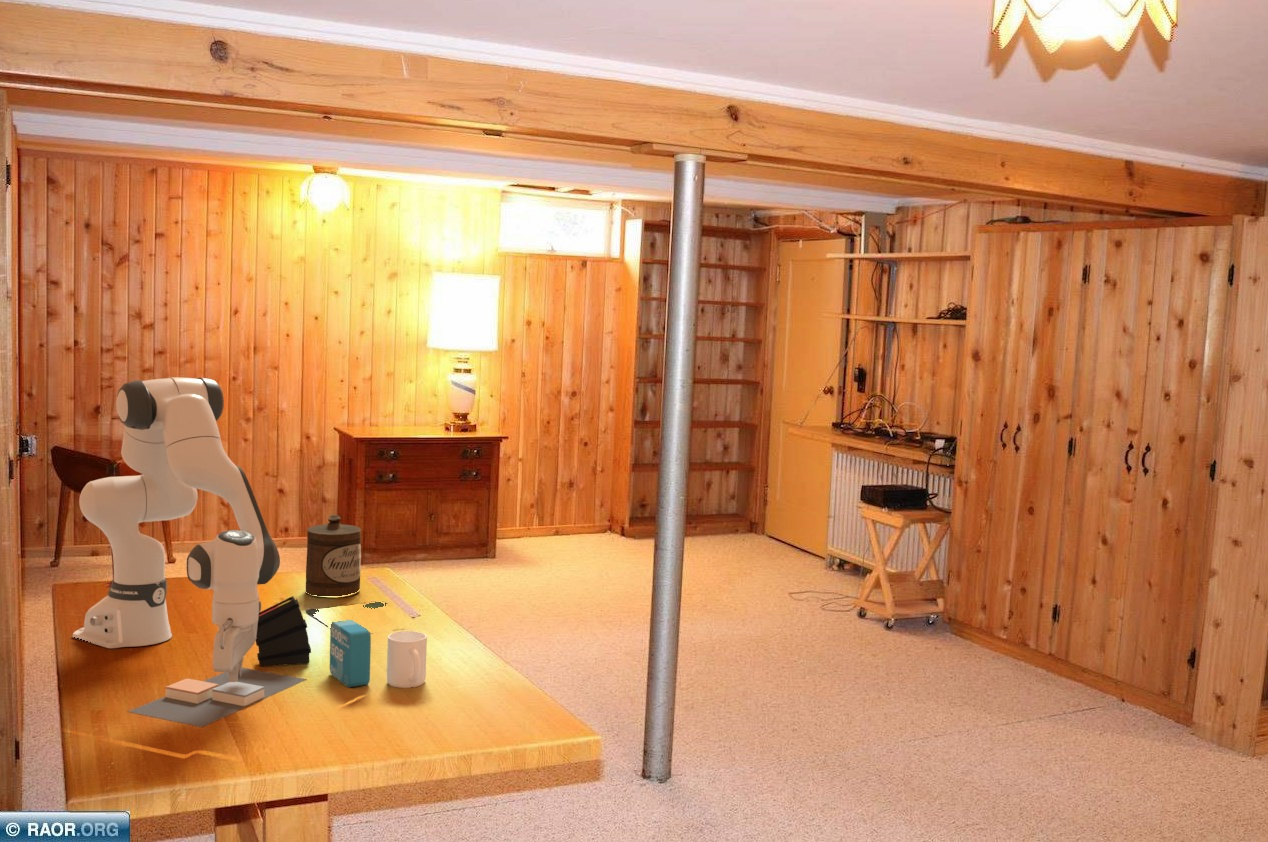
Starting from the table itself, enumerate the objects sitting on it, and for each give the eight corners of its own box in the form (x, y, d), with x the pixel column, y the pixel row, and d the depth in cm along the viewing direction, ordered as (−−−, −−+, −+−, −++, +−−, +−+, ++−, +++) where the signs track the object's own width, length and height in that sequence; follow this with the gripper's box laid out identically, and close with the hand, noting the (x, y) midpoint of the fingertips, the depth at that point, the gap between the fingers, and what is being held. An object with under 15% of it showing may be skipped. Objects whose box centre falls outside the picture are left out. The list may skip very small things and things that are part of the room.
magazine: (324, 656, 259) (295, 598, 255) (269, 684, 255) (239, 626, 252) (322, 651, 262) (294, 594, 259) (268, 679, 259) (238, 622, 255)
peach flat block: (165, 686, 231) (187, 678, 236) (165, 697, 231) (187, 688, 237) (197, 692, 228) (218, 684, 234) (197, 703, 228) (218, 694, 234)
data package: (329, 673, 252) (330, 620, 251) (348, 670, 255) (349, 618, 254) (350, 689, 242) (351, 634, 241) (370, 686, 245) (371, 631, 244)
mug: (435, 691, 243) (437, 644, 243) (397, 696, 240) (398, 648, 239) (419, 674, 254) (420, 629, 253) (382, 678, 250) (383, 632, 249)
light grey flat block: (212, 689, 230) (232, 680, 236) (212, 699, 231) (232, 691, 236) (244, 695, 228) (264, 686, 233) (244, 706, 228) (264, 697, 233)
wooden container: (332, 601, 313) (334, 522, 311) (294, 592, 320) (295, 515, 318) (371, 591, 326) (372, 515, 324) (333, 583, 333) (334, 508, 331)
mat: (127, 714, 222) (127, 711, 222) (238, 669, 252) (238, 666, 252) (201, 730, 216) (201, 727, 216) (306, 681, 246) (306, 679, 246)
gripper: (238, 627, 219) (237, 697, 221) (263, 600, 240) (262, 664, 241) (204, 626, 219) (203, 696, 220) (232, 599, 239) (231, 664, 240)
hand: (234, 679), depth 231 cm, fingers closed
